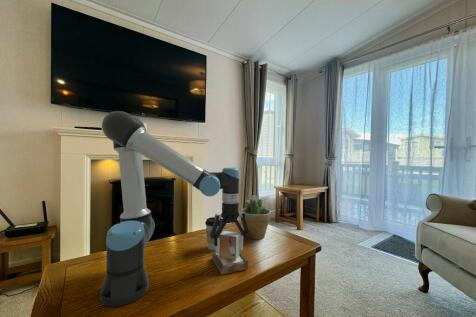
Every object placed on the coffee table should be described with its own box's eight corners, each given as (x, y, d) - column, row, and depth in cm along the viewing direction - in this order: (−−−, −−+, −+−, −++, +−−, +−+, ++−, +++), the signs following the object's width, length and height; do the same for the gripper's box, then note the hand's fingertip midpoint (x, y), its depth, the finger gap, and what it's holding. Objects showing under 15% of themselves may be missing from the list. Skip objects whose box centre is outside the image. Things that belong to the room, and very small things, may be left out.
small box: (219, 258, 92) (219, 234, 92) (223, 252, 98) (223, 230, 98) (236, 261, 90) (236, 236, 90) (239, 255, 95) (240, 232, 95)
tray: (221, 274, 85) (221, 265, 85) (212, 258, 98) (212, 250, 98) (247, 269, 90) (248, 260, 90) (235, 254, 103) (236, 246, 103)
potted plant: (237, 231, 134) (238, 192, 134) (265, 229, 138) (265, 192, 137) (243, 243, 116) (244, 198, 116) (275, 241, 120) (275, 198, 119)
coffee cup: (220, 253, 104) (220, 223, 104) (201, 250, 106) (202, 221, 106) (225, 244, 114) (225, 217, 113) (208, 243, 116) (208, 216, 115)
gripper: (207, 205, 86) (206, 259, 86) (257, 202, 94) (256, 250, 95) (203, 202, 93) (202, 251, 93) (249, 198, 101) (249, 243, 102)
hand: (229, 250), depth 94 cm, fingers open, 11 cm apart
